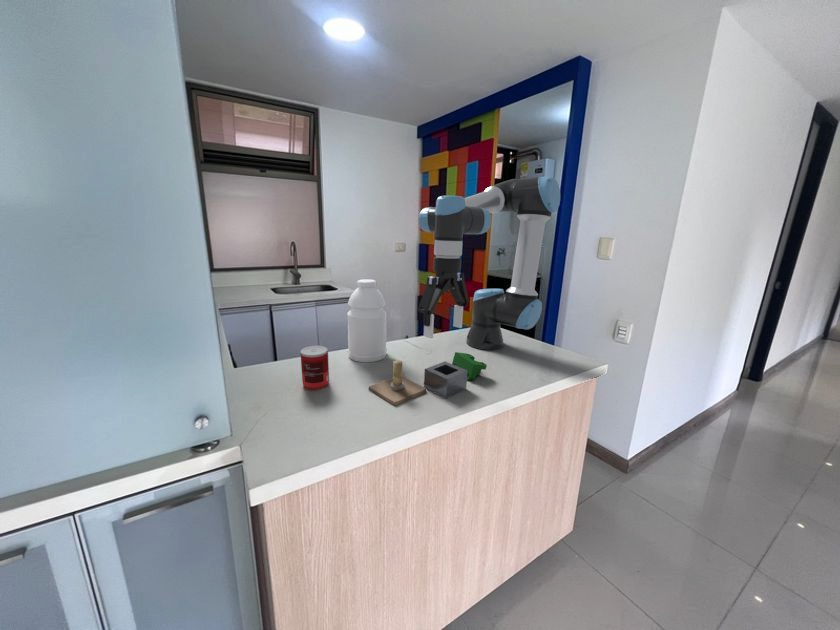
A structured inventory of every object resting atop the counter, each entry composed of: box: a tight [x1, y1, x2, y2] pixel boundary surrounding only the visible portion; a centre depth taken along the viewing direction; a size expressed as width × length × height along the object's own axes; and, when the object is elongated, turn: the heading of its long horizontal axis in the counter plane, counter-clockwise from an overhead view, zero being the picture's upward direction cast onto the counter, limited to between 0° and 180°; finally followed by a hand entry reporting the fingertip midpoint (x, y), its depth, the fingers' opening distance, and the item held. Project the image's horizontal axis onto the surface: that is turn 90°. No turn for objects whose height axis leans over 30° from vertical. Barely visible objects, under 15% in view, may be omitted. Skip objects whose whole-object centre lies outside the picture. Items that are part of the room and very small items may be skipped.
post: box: [368, 360, 427, 406], centre depth 97 cm, size 12×12×9 cm
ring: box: [423, 361, 468, 400], centre depth 100 cm, size 9×9×6 cm
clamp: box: [451, 351, 488, 381], centre depth 111 cm, size 12×6×9 cm, turn 20°
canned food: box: [300, 345, 330, 391], centre depth 99 cm, size 8×8×11 cm
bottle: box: [346, 278, 387, 363], centre depth 120 cm, size 14×14×28 cm
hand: (443, 331), depth 96 cm, fingers open, 13 cm apart
